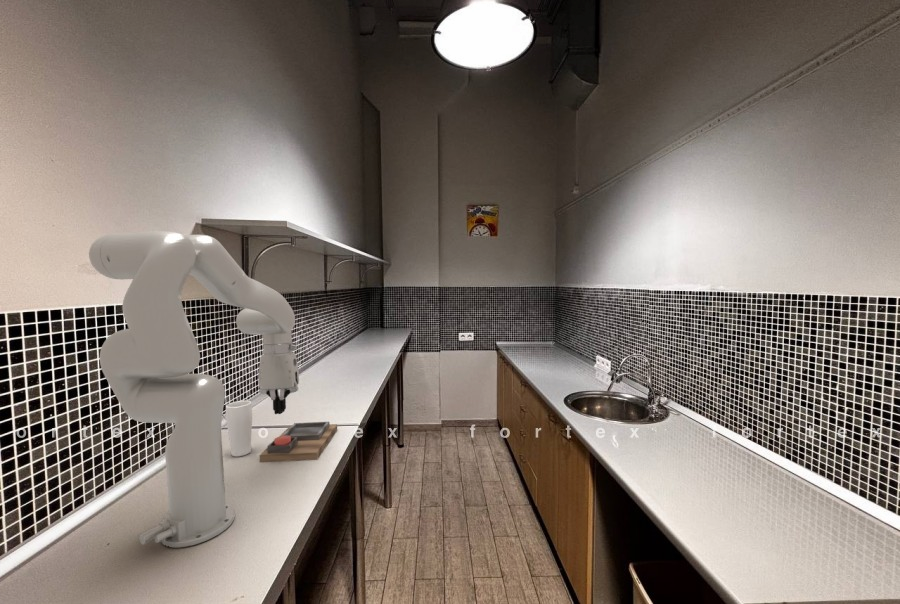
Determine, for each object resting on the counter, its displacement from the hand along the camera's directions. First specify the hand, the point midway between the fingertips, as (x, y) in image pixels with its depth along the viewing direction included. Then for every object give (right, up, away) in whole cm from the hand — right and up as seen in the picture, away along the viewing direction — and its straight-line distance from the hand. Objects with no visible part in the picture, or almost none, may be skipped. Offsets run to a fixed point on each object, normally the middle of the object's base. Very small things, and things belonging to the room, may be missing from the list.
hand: (279, 412), depth 109 cm
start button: (0, -10, +1) cm, 10 cm away
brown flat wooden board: (+3, -13, +8) cm, 15 cm away
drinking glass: (-13, -13, +3) cm, 19 cm away
